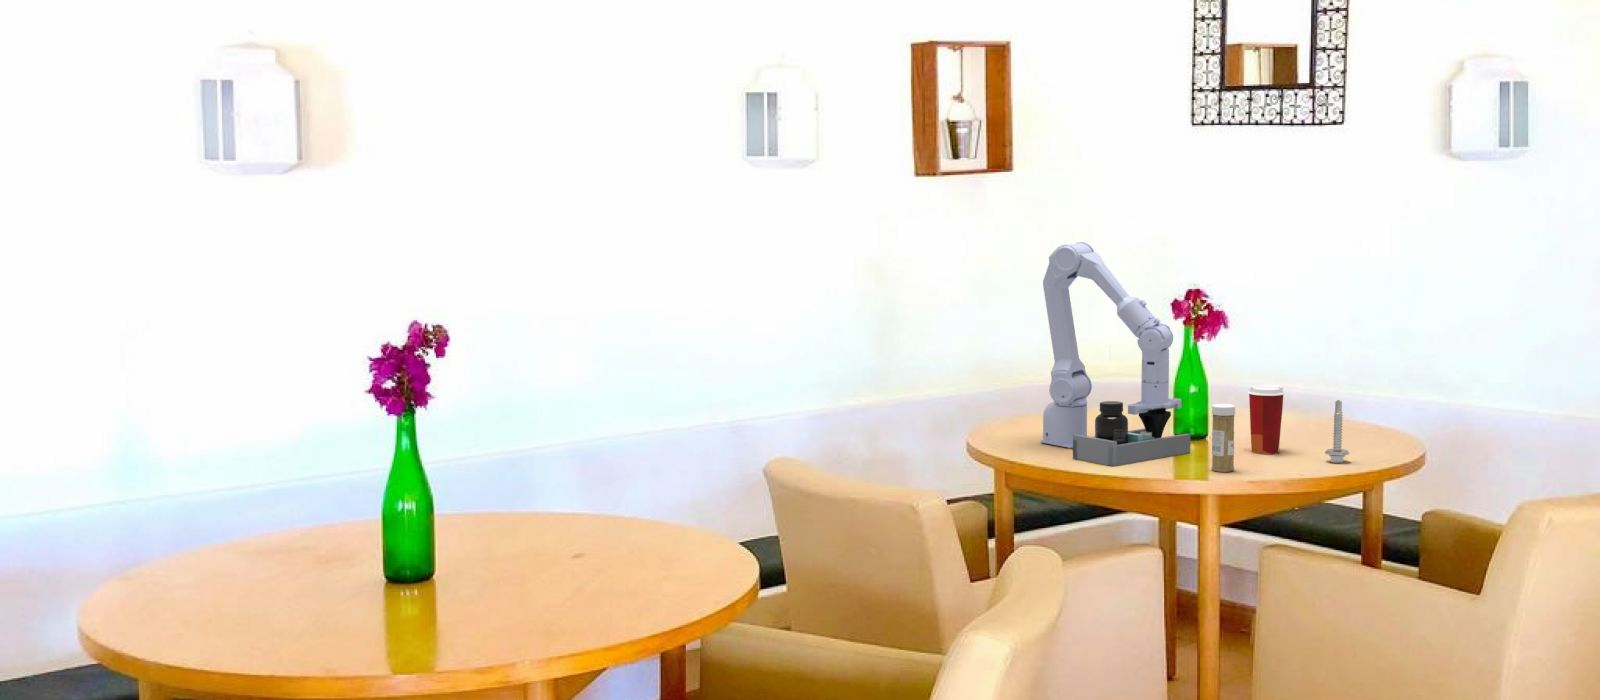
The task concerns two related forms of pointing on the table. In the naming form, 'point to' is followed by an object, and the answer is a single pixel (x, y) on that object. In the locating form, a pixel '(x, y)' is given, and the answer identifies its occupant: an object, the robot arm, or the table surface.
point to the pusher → (1139, 436)
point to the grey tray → (1128, 449)
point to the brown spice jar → (1223, 437)
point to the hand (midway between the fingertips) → (1154, 444)
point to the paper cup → (1265, 417)
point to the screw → (1337, 436)
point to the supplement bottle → (1112, 422)
